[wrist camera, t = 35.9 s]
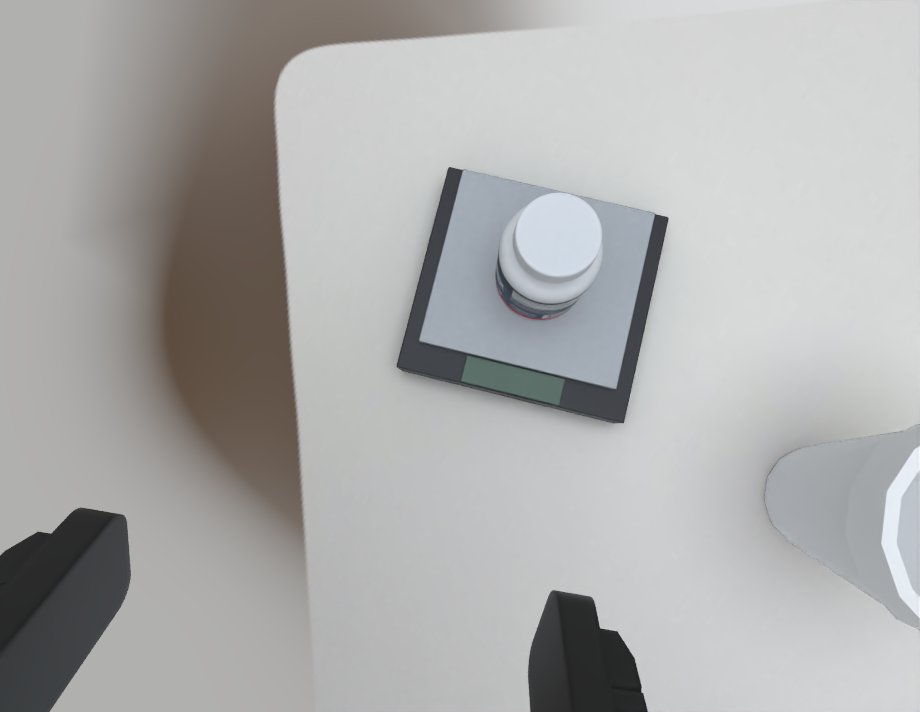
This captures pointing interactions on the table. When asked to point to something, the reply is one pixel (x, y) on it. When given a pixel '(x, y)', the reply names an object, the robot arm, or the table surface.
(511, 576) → the table surface
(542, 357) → the scale
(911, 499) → the foam cup
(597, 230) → the pill bottle
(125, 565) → the robot arm
